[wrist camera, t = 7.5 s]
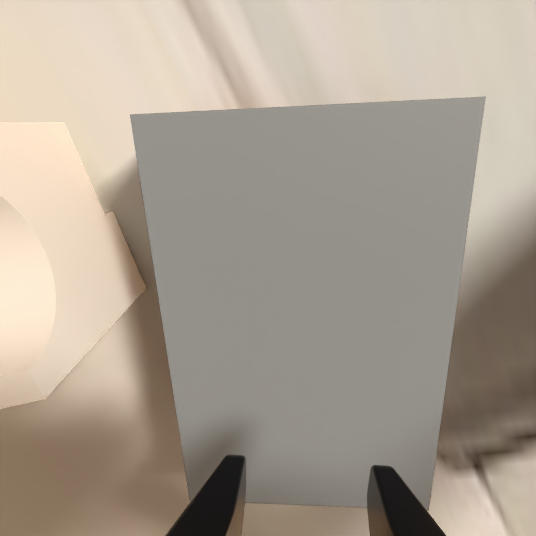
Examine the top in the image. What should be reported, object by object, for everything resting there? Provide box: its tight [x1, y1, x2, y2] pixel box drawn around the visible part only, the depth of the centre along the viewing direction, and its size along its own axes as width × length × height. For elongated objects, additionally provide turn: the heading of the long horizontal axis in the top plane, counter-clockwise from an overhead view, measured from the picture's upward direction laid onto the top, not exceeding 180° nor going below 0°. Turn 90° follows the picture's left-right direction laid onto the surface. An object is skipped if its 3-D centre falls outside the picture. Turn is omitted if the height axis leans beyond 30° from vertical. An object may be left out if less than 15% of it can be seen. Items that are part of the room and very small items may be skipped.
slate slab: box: [130, 97, 485, 510], centre depth 14 cm, size 9×14×2 cm, turn 3°
